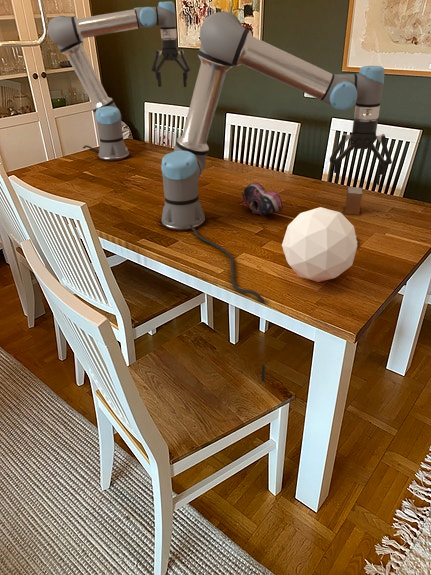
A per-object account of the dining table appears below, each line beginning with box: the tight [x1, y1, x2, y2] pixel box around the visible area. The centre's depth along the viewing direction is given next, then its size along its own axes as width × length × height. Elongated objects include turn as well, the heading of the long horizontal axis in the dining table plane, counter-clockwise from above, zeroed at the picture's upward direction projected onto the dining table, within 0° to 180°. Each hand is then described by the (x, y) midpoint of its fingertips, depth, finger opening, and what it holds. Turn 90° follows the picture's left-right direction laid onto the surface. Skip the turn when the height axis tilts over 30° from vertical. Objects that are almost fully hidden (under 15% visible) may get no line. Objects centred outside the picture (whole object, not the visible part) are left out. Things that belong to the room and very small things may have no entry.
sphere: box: [281, 206, 358, 283], centre depth 118 cm, size 19×20×20 cm
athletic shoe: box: [238, 182, 284, 217], centre depth 160 cm, size 11×22×12 cm
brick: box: [344, 186, 363, 216], centre depth 158 cm, size 6×5×8 cm
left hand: (172, 86), depth 227 cm, fingers open, 13 cm apart
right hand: (357, 182), depth 154 cm, fingers open, 13 cm apart
